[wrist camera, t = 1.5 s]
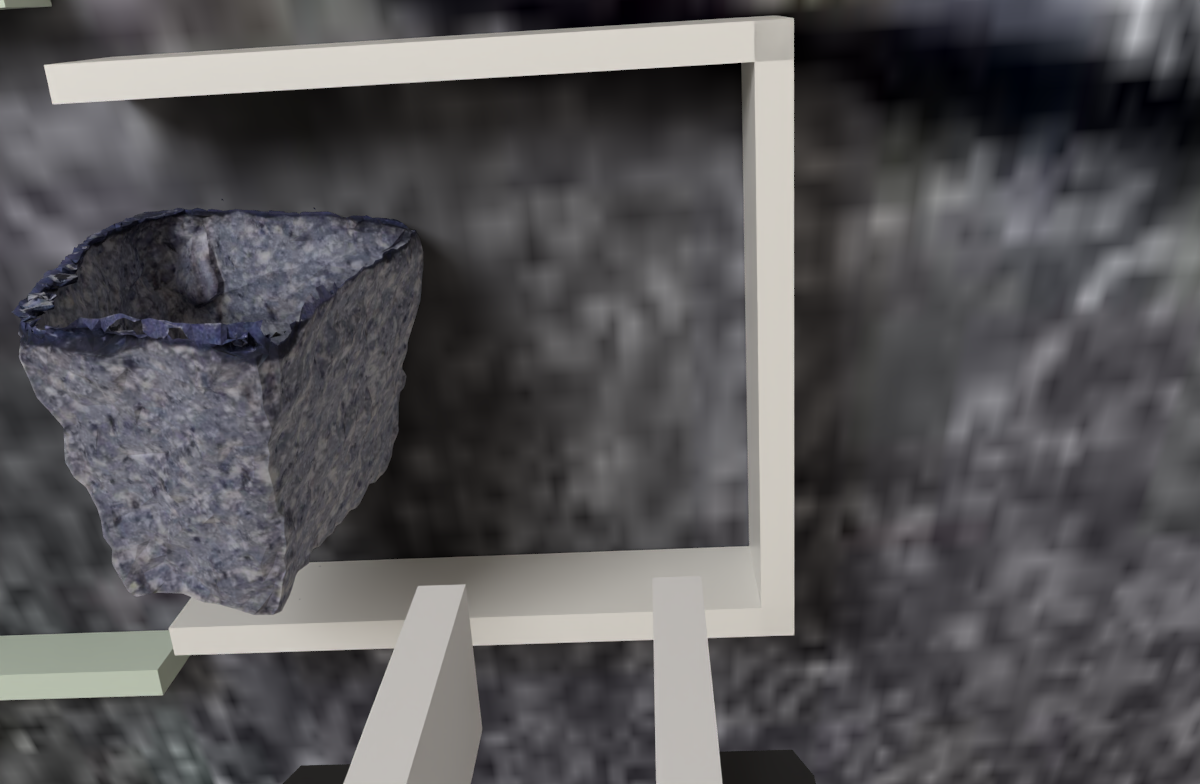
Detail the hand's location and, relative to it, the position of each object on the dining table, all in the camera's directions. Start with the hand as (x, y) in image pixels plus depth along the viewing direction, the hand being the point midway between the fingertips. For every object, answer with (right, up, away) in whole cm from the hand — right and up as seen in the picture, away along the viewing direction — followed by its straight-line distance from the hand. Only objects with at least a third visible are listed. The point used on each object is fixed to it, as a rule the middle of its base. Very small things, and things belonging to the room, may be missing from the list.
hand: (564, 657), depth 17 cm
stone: (-9, +6, +18) cm, 21 cm away
